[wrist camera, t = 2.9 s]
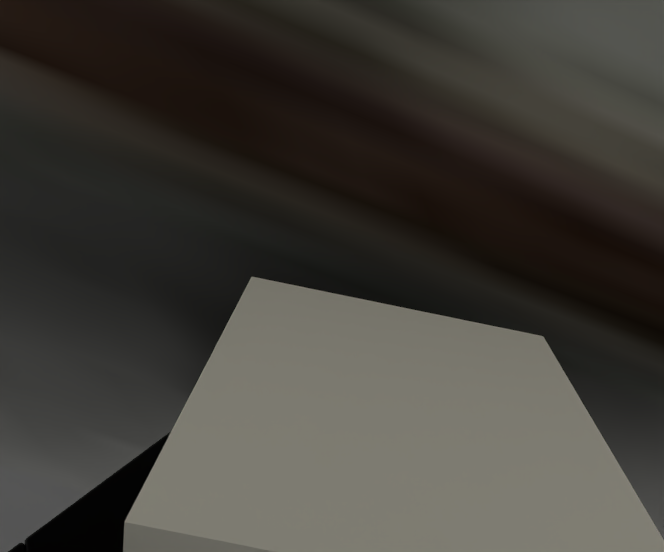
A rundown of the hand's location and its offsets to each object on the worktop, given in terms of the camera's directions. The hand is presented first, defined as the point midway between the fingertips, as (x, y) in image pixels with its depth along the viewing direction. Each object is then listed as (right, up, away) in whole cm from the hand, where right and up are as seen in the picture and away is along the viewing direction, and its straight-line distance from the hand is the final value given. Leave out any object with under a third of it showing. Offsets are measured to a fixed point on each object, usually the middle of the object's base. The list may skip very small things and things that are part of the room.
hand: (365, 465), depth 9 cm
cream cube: (0, 0, +1) cm, 1 cm away
